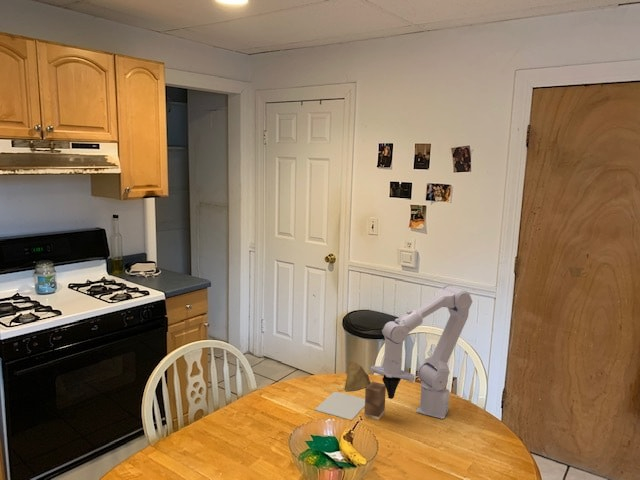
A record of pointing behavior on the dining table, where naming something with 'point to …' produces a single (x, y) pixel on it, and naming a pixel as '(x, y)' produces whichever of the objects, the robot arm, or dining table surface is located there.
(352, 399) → the board
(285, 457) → the dining table surface
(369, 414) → the walnut block
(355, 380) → the rock
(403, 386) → the dining table surface
